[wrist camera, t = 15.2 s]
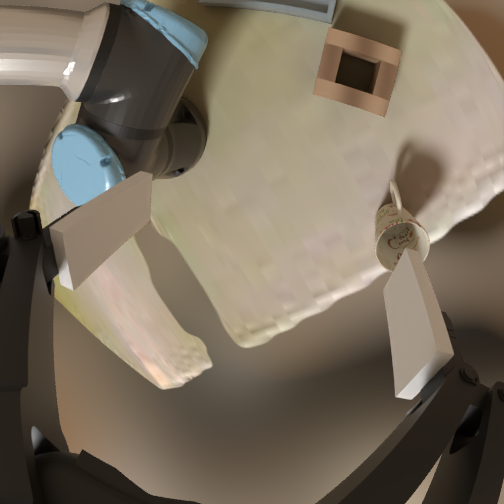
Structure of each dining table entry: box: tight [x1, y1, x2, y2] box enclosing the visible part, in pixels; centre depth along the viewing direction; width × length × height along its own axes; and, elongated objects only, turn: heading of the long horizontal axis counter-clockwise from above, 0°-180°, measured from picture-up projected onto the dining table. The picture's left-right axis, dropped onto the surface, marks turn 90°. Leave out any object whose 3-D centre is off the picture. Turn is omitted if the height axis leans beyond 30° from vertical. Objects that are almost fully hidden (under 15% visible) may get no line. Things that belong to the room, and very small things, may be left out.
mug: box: [375, 180, 430, 272], centre depth 42 cm, size 8×13×10 cm, turn 18°
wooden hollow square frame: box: [313, 28, 402, 117], centre depth 34 cm, size 10×10×6 cm
